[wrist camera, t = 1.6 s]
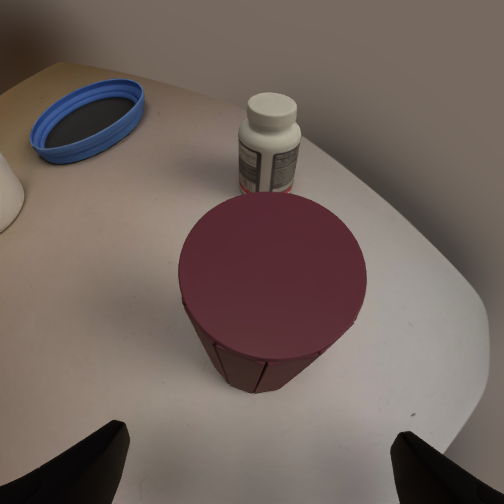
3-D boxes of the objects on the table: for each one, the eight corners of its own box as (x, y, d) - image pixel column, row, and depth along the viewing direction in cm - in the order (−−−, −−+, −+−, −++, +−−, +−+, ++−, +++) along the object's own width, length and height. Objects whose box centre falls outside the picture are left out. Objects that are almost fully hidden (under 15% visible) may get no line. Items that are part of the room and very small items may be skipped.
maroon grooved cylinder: (320, 352, 21) (399, 274, 10) (251, 411, 19) (263, 404, 8) (263, 290, 24) (281, 168, 13) (194, 340, 22) (144, 249, 11)
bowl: (31, 187, 30) (20, 169, 27) (45, 121, 38) (38, 105, 35) (157, 137, 34) (152, 115, 31) (140, 85, 43) (136, 67, 40)
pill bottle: (289, 169, 32) (302, 90, 23) (293, 206, 29) (310, 123, 20) (239, 167, 31) (239, 87, 23) (237, 204, 29) (236, 119, 20)
